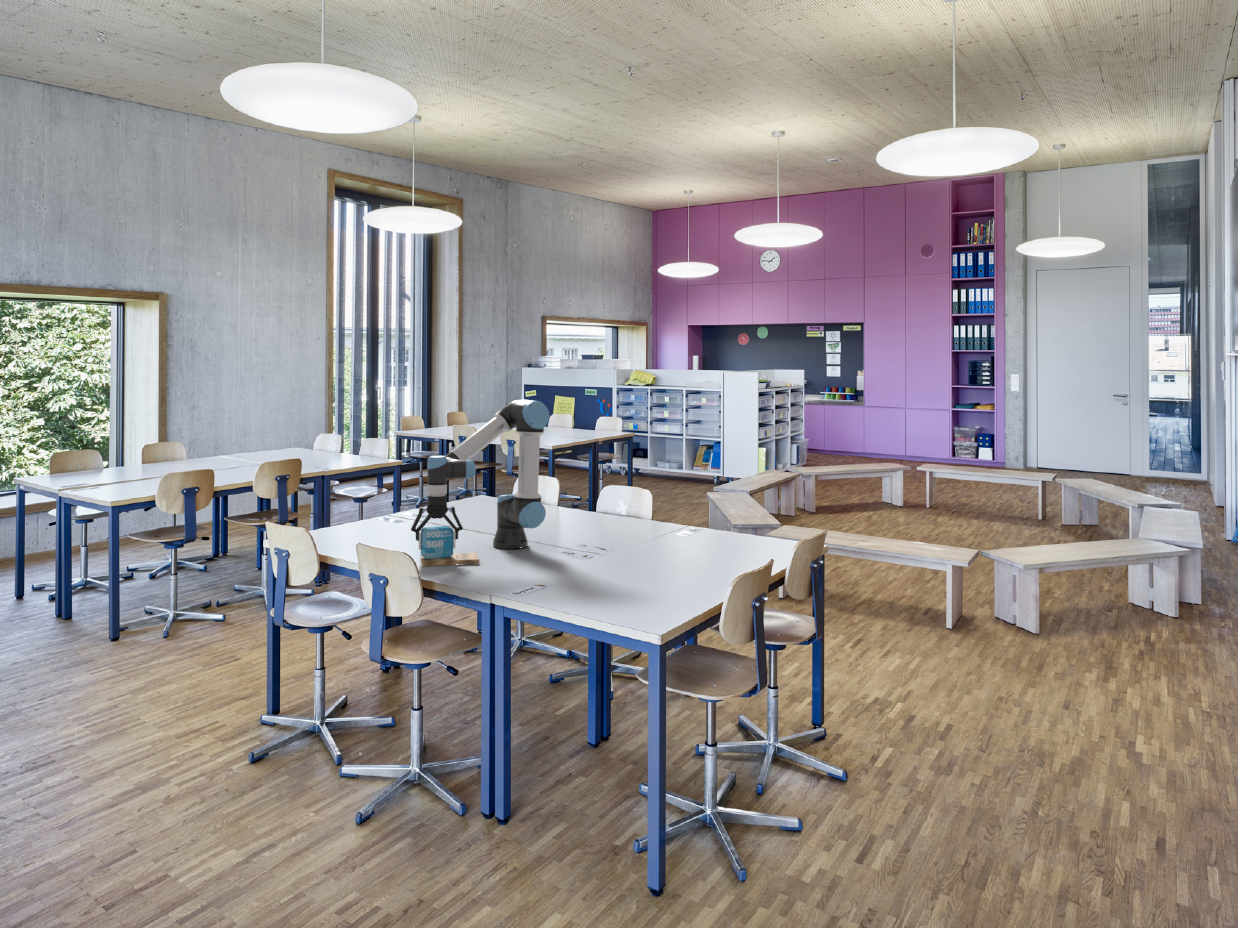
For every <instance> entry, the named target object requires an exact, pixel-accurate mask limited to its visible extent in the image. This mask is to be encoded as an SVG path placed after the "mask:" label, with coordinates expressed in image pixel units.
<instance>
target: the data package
mask: <svg viewBox="0 0 1238 928" xmlns="http://www.w3.org/2000/svg"><path fill="white" fill-rule="evenodd" d="M453 531H454V529H453V528H452V527H450V526H447V525H441V526H428V527H425V526H424V527H423V528H422V529H421V530H420V532H421V549H420V555H421V556H422V557H424V558H426V559H436V558H447V557H451V556H452V555H453V553H454V548H453Z"/></svg>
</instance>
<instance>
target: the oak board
mask: <svg viewBox="0 0 1238 928" xmlns="http://www.w3.org/2000/svg"><path fill="white" fill-rule="evenodd" d="M419 558H420V559H421V560H420V563H421V562H422V563H421V565H422V567H423V566H428V567H437V566H436V565H451V566H457V565H456V564H475V565H480V558H479V557H478V555H477V553H476V552H455V553H454V552H453V555H452V556H451V557H447V558H436V559H426V558H424V557H422V556H421V554H420V556H419Z"/></svg>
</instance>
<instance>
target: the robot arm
mask: <svg viewBox="0 0 1238 928" xmlns="http://www.w3.org/2000/svg"><path fill="white" fill-rule="evenodd" d="M549 420H550V412H549V410H548V408H547V405H545V403H543V402H542V401H538V400H534V399H530V400H529V399H516V400H513V401H510V402H508V403H507V404H506V405H504V406H503V407H502V408H501V409H499V410H497V412H495V413H494V414H493V417H492V418H491V420H489V421H488V422H487V423H485V424H484V425H483V426H481V427H480V428H479V429H477V430H476V431H475V432H474V433H473V434H471V435H470V436H468V438H466V439H465V440H463V441H462V442H461V443H460V444H459V445H457V446H456V447H454V448H453V449H452V450H451V451H449V452H448V453H447V454H446V455H430V456H429V457H428V458H427V467H426V469H427V500H426V501H427V506H426V507H422V506H420V507H419V508H418V514H417V516H416V518H415V519H414V522H413V524H412V525H411V528H410V530H411V532H414V533H415V540H416V542H418V550H421V530H422V529H423V528H425V526H426V524H428V522H429V521H430V520H431V519H433V520H435V519H442V518H444V520H445V521H446V522H447V523H448V524H449V525H450V526H451V528H452V529H453V549H456V540H459V532H460V531H462V530H463V529H464V527H463V525H462V523H461V521H460V519H459V517H458V515H457V514H456V509H455V506H454V505H453V506H451V507H448V496H447V493H448V480H462V479H465V480H466V479H472V478H474V477H475V474H476V470H477V468H476V464H475V461H473V460H472V458H473V457H474V456H475V455H477V454H479V453H480V452H481V451H482V450H483V449H484V448H486V447H487V446H489V445H490V444H491V443H492V442H494V441H495V440H496V439H497V438H498V437H500V436H501V435H503V434H504V433H509V432H510V431H511V430H513V429H516V430H515V432H516V434H518V435H519V443H518V444H519V446H518V471H517V472H518V474H517V475H518V477H517V478H518V479H517V492H516V493H510V494H501V495H498V497H497V504H496V505H497V507H496V509H497V510H496V511H497V512H496V513H497V515H496V517H497V519H496V522H497V523H496V524H497V525H496V526H497V528H496V530H495V531H496V532H495V534H494V538H493V541H492V546H493V547H494V548H496V547H498V548H497V549H500V548H502V550H515V549H514V548H520V547H525V548H527V547H528V546H529V545H528V544H529V543H528V541H529V540H528V538H527V536H526V531H525V529H535V528H538V527H539V526H540V525H541V524H543V522H544V521H545V518H546V514H547V511H546V507H545V506H544V504H543V503H542V495H541V494H540V493H539V476H540V473H539V471H540V450H541V449H540V445H541V436H542V435H543V434H544V433H545V432H544V431H545V427H546V426H547V425H548V423H549ZM448 511H449V512H450V513H451V514H452V516H453V518H454V520H455V523H456V524H457V526H458V527H457V526H456V525H455V524H454V523H453V521H452V520H451V519H450V517H448V516H447V513H448ZM425 512H426V513H427V515H426V517H425V518H424V519H423V521H421V523H420V524H418V523H419V522H420V520H421V518H422V516H423V514H425ZM527 545H528V546H527ZM526 546H527V547H526ZM520 549H521V548H520Z"/></svg>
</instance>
